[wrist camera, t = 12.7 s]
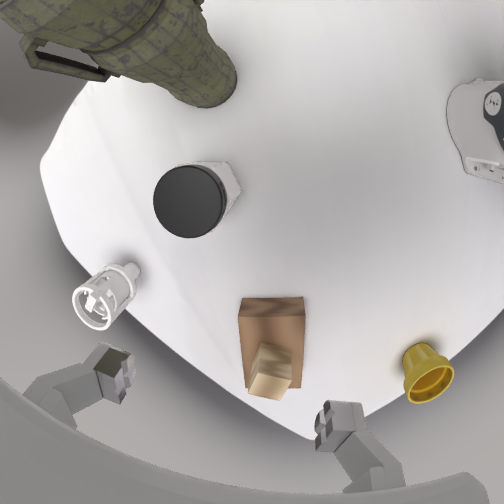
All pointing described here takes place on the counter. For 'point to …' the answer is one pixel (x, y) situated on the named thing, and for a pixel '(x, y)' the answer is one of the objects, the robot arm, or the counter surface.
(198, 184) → the jar
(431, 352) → the plant pot
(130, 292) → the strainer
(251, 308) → the walnut block
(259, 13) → the counter surface
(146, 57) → the thermos
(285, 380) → the oak block
